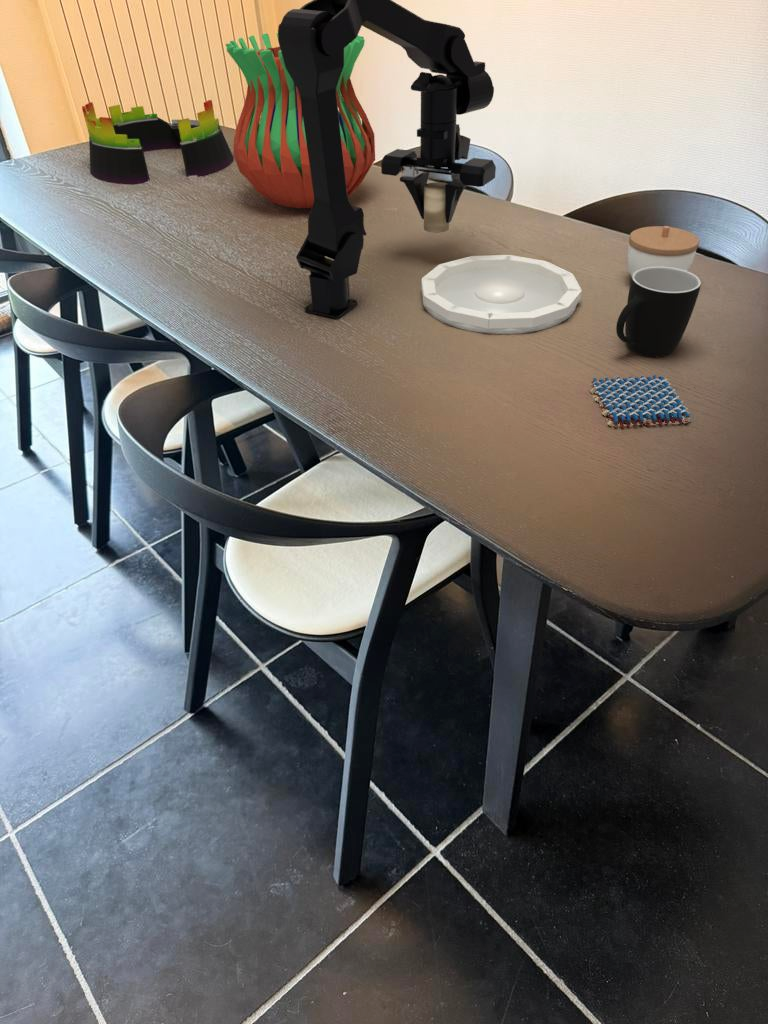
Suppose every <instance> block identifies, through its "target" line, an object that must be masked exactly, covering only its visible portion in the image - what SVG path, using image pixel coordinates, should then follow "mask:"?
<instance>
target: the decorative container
mask: <svg viewBox="0 0 768 1024" xmlns="http://www.w3.org/2000/svg"><path fill="white" fill-rule="evenodd" d="M107 107H108V112H109V115H110V117H105V116H104V117H103V116H101V117H100V116H99V117H98V118H97V114H96V110H95V107H94V103H93V102H92V101H90V102H88V103H86V104H84V105H82V106H81V110H82V113H83V117H84V120H85V124H86V128H87V131H88V136H89V137H88V141H89V142H88V145H89V169H90V170H89V171H90V175H91V176H92V177H93V178H95V179H97V180H99V181H102V182H105V183H111V184H118V185H130V186H131V185H132V186H134V185H140V184H148V183H147V182H149V181H150V182H151V179H150V175H149V170H148V166H147V161H146V155H145V154H144V153H145V152H153V151H159V150H160V151H161V150H176V149H177V150H179V149H181V154H182V160H183V165H184V170H185V176H186V178H188V177H191V178H199V177H200V176H202V177H207V176H209V174H210V175H212V174H216V173H218V172H220V171H222V170H224V169H226V168H228V167H229V166H231V165H232V164H233V162H234V160H235V157H234V154H233V153H232V151H231V149H230V146H229V144H228V142H227V139H226V137H225V135H224V132H223V131H222V128H221V126H220V119H219V117H218V118H217V117H216V118H215V113H214V105H213V100H212V99H208V100H206V101H205V102H203V108H204V110H203V111H200V112H197V114H196V115H197V119H190V118H189V117H188V118H187V117H186V118H181V119H171V123H169V122H167V121H166V120H164V119H162V118H160V117H159V116H158V114H157V113H149V114H148V113H147V114H146V113H145V109H144V106H143V105H139V106H133V107H130V110H131V111H124V112H122V108H121V105H120V104H115V105H110V106H107ZM206 175H207V176H206ZM150 182H149V183H150Z"/></svg>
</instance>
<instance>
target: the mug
mask: <svg viewBox="0 0 768 1024" xmlns="http://www.w3.org/2000/svg"><path fill="white" fill-rule="evenodd" d="M700 279H701V278H699V277H698V276H697V275H696V274H695V273H693V272H690V271H685V270H682V269H678V268H673V267H662V266H656V267H647V268H642V269H640V270H637V271H636V272H635V273H634V274H633V275H632V277H631V279H630V284H629V288H628V295H627V301H626V302H627V303H626V305H625V306H624V307H623V309H622V310H621V312H620V314H619V315H618V318H617V321H616V327H615V330H616V335H617V337H618V339H619V340H620V341H621V342H623V343H626V344H627V347H628V348H629V350H630V351H632V352H633V353H636V354H638V355H641V356H644V357H649V356H650V357H651V358H659V357H658V356H661V357H664V355H665V356H668V355H669V353H670V354H671V353H672V352H673V351H675V349H676V348H677V347H678V345H679V344H680V341H681V340H682V338H683V336H684V333H685V331H686V329H687V327H688V324H689V323H690V319H691V317H692V314H693V312H694V308H695V306H696V302H697V300H698V297H699V294H700V291H701V290H700V288H701V286H702V285H701V284H702V283H701V280H700ZM624 330H625V331H624ZM667 354H668V355H667ZM656 356H657V357H656Z"/></svg>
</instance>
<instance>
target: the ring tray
mask: <svg viewBox="0 0 768 1024" xmlns="http://www.w3.org/2000/svg"><path fill="white" fill-rule="evenodd" d="M420 283H421V294H422V304H423V308H424V309H425V311H427V312H428V313H429V315H431V316H432V317H433V318H435V319H437V320H438V321H440V322H441V323H444V324H446V325H447V326H448V325H449V326H451V327H454V328H457V329H460V330H461V329H462V330H464V331H468V332H473V333H474V332H475V333H479V334H480V333H482V334H489V335H491V334H493V335H494V334H495V335H516V334H528V333H532V332H539V331H543V330H546V329H551V328H552V327H555V326H557V325H559V324H562V323H564V322H565V321H566V320H568V319H570V317H571V316H572V315H573V314H575V311H576V309H577V304H578V303H579V302H580V301H581V299H582V298H581V297H582V291H583V290H582V288H581V286H580V284H579V282H578V281H577V279H576V277H575V275H574V274H573V273H571V272H570V271H568V270H566V269H563V268H561V267H559V266H557V265H555V264H553V263H551V262H549V261H547V260H543V259H542V260H541V259H536V258H530V257H525V256H518V255H512V254H496V255H495V254H493V255H470V256H467V257H462V258H457V259H455V260H451V261H447V262H444V263H439V264H438V265H436V266H435V267H434V268H433V269H432V270H431V271H429V272H428V273H426V275H424V276H422V278H421V281H420Z"/></svg>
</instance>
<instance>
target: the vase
mask: <svg viewBox="0 0 768 1024" xmlns="http://www.w3.org/2000/svg"><path fill="white" fill-rule="evenodd" d="M276 37H277V39H278V32H276ZM261 38H262V41H263V44H264V46H265V48H261V49H260V48H259V45H258V43H257V40H256V38H255V35H250V36H248V40H249V41H250V44H251V46H252V48H249V47H248V46H247V44H246V42H245V40H244V38H243V37H239V38H238V42H239V45H240V46H239V45H238V43H237V41H236V40H235V39H233V40H230V41H229V43H225V47H226V52H227V53H228V54H229V56H230V57H231V59H233V61H234V62H235V63H236V65H237V66H238V67H239V69H240V71H241V73H242V74H243V77H244V78H245V82H246V85H247V88H246V95H245V99H244V104H243V107H242V110H241V113H240V116H239V118H238V121H237V124H236V128H235V134H234V137H233V138H234V139H233V153H232V155H233V157H234V160H235V162H236V166H237V168H238V171H239V173H240V174H241V175H242V176H244V177H245V178H246V180H247V181H248V182H249V184H250V185H252V187H253V188H254V189H255V190H256V191H257V193H258V194H260V195H262V196H263V197H264V198H266V200H268V201H270V202H271V203H274V204H276V205H277V206H280V207H281V206H282V207H286V208H295V209H305V208H307V209H311V208H312V206H313V203H314V193H313V186H312V178H311V171H310V164H309V157H308V150H307V142H306V135H305V128H304V121H303V114H302V106H301V99H300V94H299V91H298V89H297V87H296V85H295V83H294V82H293V80H292V78H291V76H290V74H289V73H288V71H287V69H286V67H285V63H284V60H283V56H282V52H281V49H280V45H279V44H278V46H274V47H272V44H271V41H270V36H269V34H268V33H263V34H261ZM277 41H278V40H277ZM365 41H366V40H365V38H364V36H361V35H359V34H358V35H357V37H356V38H355V39H354V40H353V41H352V42H351V43H349V44H348V45H347V46H346V47H345V48H344V67H343V70H342V73H341V75H340V78H339V81H338V84H337V87H336V96H337V105H338V115H339V124H340V133H341V143H342V152H343V161H344V170H345V180H346V189H347V196H348V197H349V196H350V195H351V194H352V193H353V192H354V191H355V190H356V189H357V188H358V187H359V186H360V185H361V184H362V182H363V181H364V179H365V178H366V176H367V175H368V172H369V171H370V169H371V167H372V165H374V163H375V161H376V141H375V132H374V130H373V127H372V126H371V123H370V120H369V118H368V116H367V114H366V111H365V110H364V107H363V106H362V104H361V103H360V101H359V98H357V95H356V93H355V89H354V86H353V83H352V79H351V75H352V72H353V70H354V67H355V63H356V62H357V60H358V57H359V56H360V54H361V52H362V50H363V49H364V46H365ZM278 43H279V41H278Z"/></svg>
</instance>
